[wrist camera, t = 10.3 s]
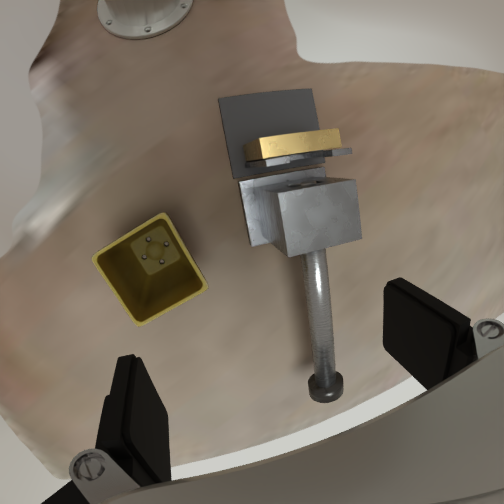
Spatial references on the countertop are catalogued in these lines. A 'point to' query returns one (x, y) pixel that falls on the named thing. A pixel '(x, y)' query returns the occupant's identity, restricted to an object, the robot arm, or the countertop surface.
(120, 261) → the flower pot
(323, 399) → the shaft
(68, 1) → the countertop surface
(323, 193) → the block
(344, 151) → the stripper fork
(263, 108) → the mat
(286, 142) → the gold bearing plate
